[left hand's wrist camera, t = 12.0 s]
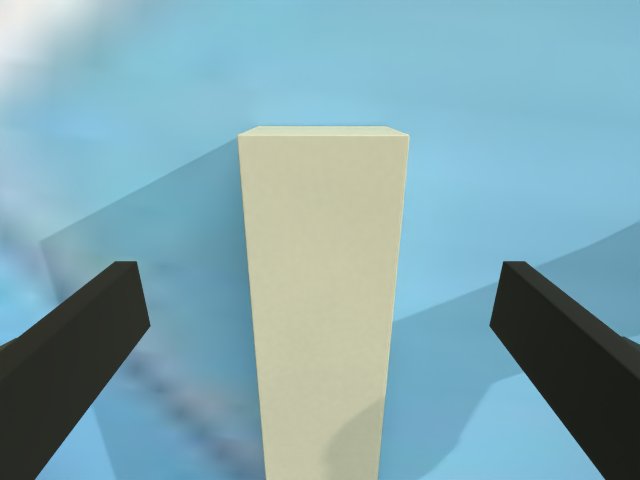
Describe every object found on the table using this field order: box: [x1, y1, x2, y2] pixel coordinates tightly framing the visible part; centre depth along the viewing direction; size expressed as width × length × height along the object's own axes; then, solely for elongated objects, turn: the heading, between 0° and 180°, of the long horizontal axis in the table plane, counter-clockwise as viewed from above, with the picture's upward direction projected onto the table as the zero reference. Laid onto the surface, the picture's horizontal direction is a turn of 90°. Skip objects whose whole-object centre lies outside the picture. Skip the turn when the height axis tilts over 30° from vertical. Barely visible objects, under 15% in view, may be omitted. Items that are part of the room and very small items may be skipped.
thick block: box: [237, 126, 410, 480], centre depth 35 cm, size 65×10×7 cm, turn 0°
